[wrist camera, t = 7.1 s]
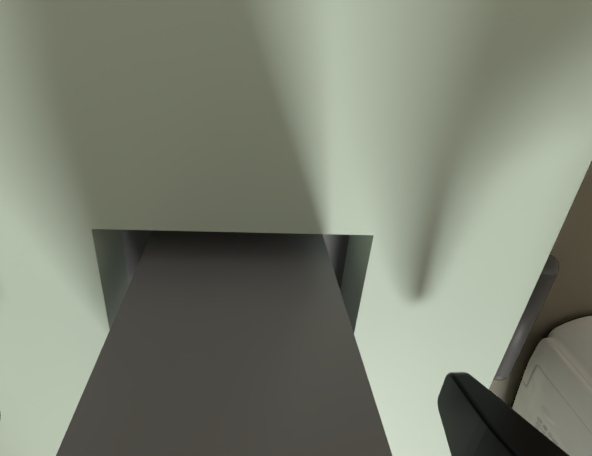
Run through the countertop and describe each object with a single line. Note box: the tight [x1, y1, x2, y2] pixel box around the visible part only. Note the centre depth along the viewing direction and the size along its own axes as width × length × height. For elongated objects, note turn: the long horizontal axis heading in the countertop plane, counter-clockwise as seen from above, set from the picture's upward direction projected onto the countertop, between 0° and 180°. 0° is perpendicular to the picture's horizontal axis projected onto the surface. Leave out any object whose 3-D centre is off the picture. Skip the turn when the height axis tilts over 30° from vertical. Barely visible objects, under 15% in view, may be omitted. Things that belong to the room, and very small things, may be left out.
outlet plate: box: [0, 0, 592, 456], centre depth 10 cm, size 18×16×2 cm
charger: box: [56, 230, 392, 456], centre depth 7 cm, size 4×4×8 cm
